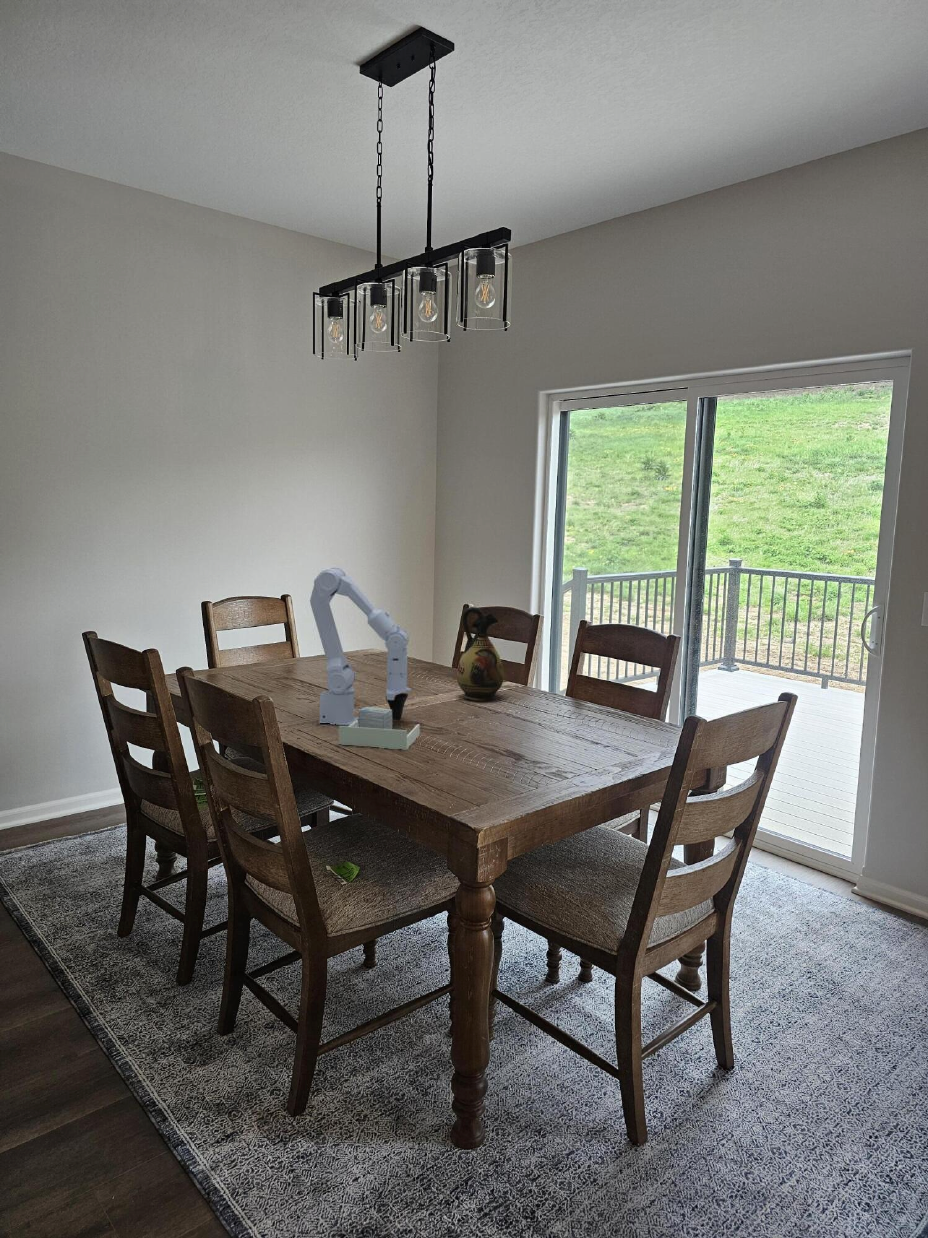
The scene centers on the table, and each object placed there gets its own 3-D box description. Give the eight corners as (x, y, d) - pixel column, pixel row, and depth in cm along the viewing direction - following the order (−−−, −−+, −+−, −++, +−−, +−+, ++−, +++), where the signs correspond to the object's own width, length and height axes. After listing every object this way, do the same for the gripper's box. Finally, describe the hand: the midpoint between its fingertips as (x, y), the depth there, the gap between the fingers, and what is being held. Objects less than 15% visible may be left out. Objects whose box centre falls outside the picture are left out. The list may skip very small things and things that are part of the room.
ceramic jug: (504, 694, 274) (506, 605, 270) (502, 704, 258) (504, 611, 255) (454, 692, 275) (455, 604, 271) (448, 702, 260) (450, 609, 256)
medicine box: (392, 741, 215) (392, 709, 214) (384, 745, 211) (385, 712, 210) (366, 737, 218) (366, 706, 217) (358, 741, 214) (358, 709, 213)
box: (338, 745, 210) (338, 726, 210) (356, 730, 225) (356, 713, 224) (406, 750, 207) (406, 731, 207) (419, 735, 221) (419, 717, 221)
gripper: (404, 678, 222) (403, 726, 224) (417, 668, 237) (416, 714, 238) (379, 677, 224) (379, 725, 226) (393, 667, 238) (393, 712, 240)
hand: (396, 719), depth 232 cm, fingers closed
